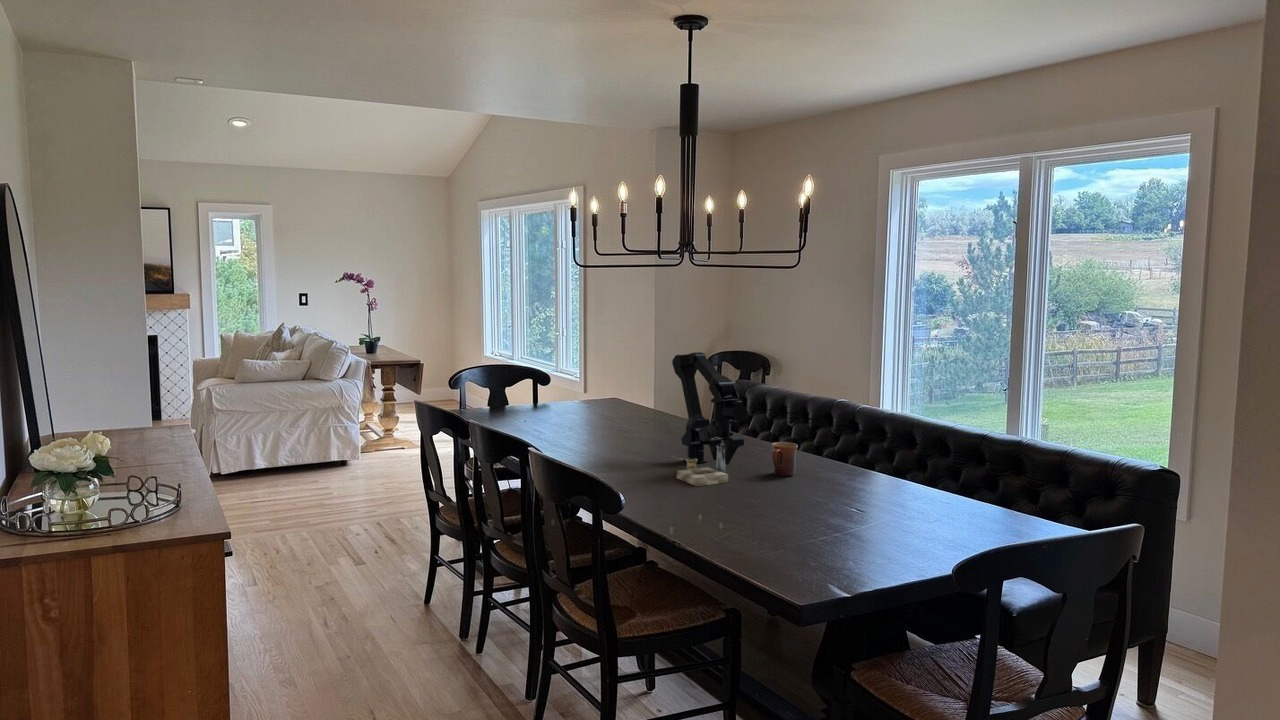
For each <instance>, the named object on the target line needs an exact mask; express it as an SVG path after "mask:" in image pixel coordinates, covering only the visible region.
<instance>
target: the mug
mask: <svg viewBox="0 0 1280 720" xmlns="http://www.w3.org/2000/svg"><path fill="white" fill-rule="evenodd" d="M771 447H772V454H771V460H772V468H773V469H772V471H773V474H774V475H775V476H778V477H792V476H793V475H794V474H795V471H796V455H797V450H798V447H799V445H798V444H797V443H794V442H788V441H779V442H777V441H776V442H772V443H771Z"/></svg>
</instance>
